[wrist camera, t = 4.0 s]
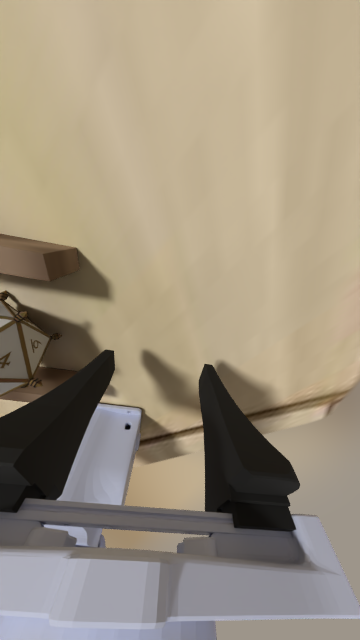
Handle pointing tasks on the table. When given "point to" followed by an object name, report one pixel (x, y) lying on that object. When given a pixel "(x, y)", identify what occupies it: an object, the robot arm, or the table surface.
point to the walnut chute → (42, 265)
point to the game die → (19, 348)
